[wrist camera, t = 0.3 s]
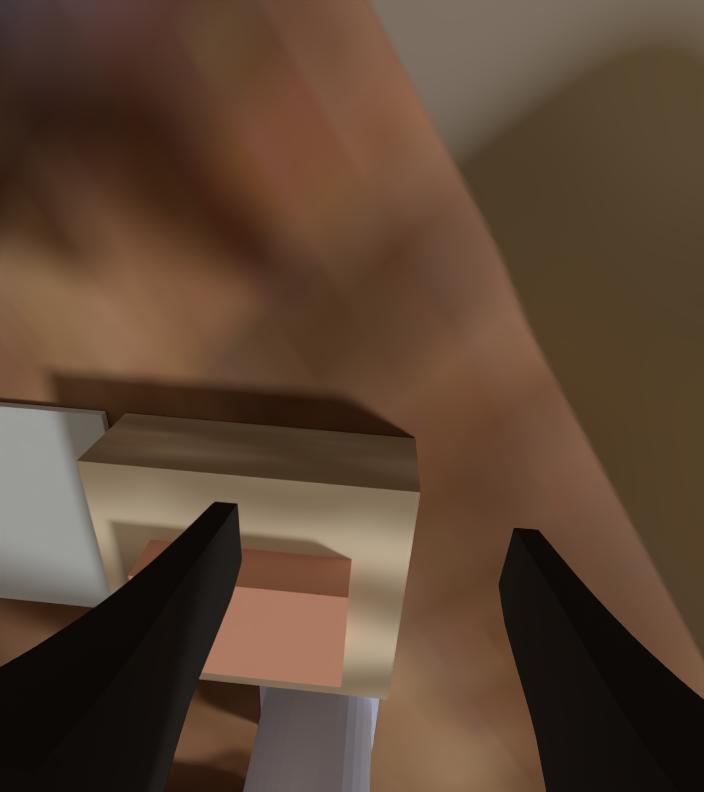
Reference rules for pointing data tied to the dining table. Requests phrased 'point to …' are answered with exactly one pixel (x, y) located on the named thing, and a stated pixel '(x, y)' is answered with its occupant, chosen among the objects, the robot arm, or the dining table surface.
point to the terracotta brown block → (280, 617)
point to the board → (269, 512)
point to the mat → (48, 506)
